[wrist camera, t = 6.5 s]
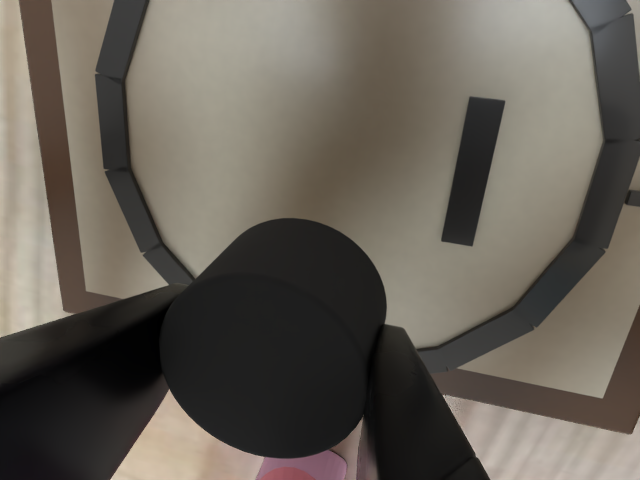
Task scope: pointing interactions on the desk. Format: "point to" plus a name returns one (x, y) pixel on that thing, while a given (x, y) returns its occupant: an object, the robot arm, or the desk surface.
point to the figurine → (304, 468)
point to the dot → (277, 339)
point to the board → (368, 168)
